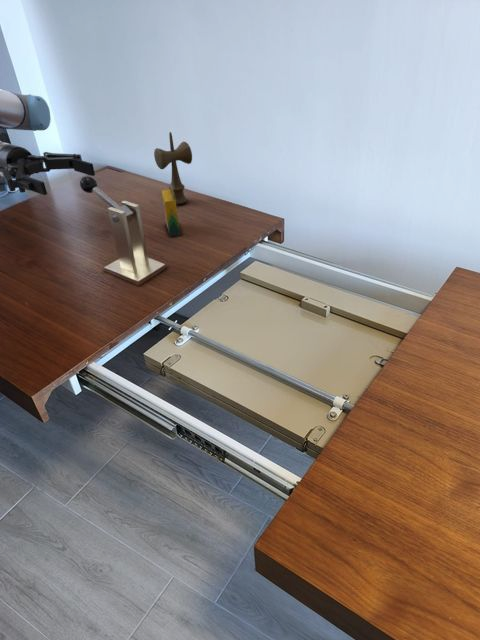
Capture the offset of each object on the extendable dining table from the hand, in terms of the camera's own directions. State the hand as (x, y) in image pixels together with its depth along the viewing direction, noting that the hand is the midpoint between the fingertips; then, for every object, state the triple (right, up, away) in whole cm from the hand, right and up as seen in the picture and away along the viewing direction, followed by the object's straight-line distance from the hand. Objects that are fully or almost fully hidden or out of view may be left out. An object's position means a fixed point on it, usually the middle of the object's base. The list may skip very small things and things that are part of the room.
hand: (69, 178), depth 107 cm
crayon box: (+20, -7, +21) cm, 29 cm away
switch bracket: (+14, -20, +5) cm, 25 cm away
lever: (+9, -7, -2) cm, 11 cm away
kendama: (+19, +5, +34) cm, 39 cm away
